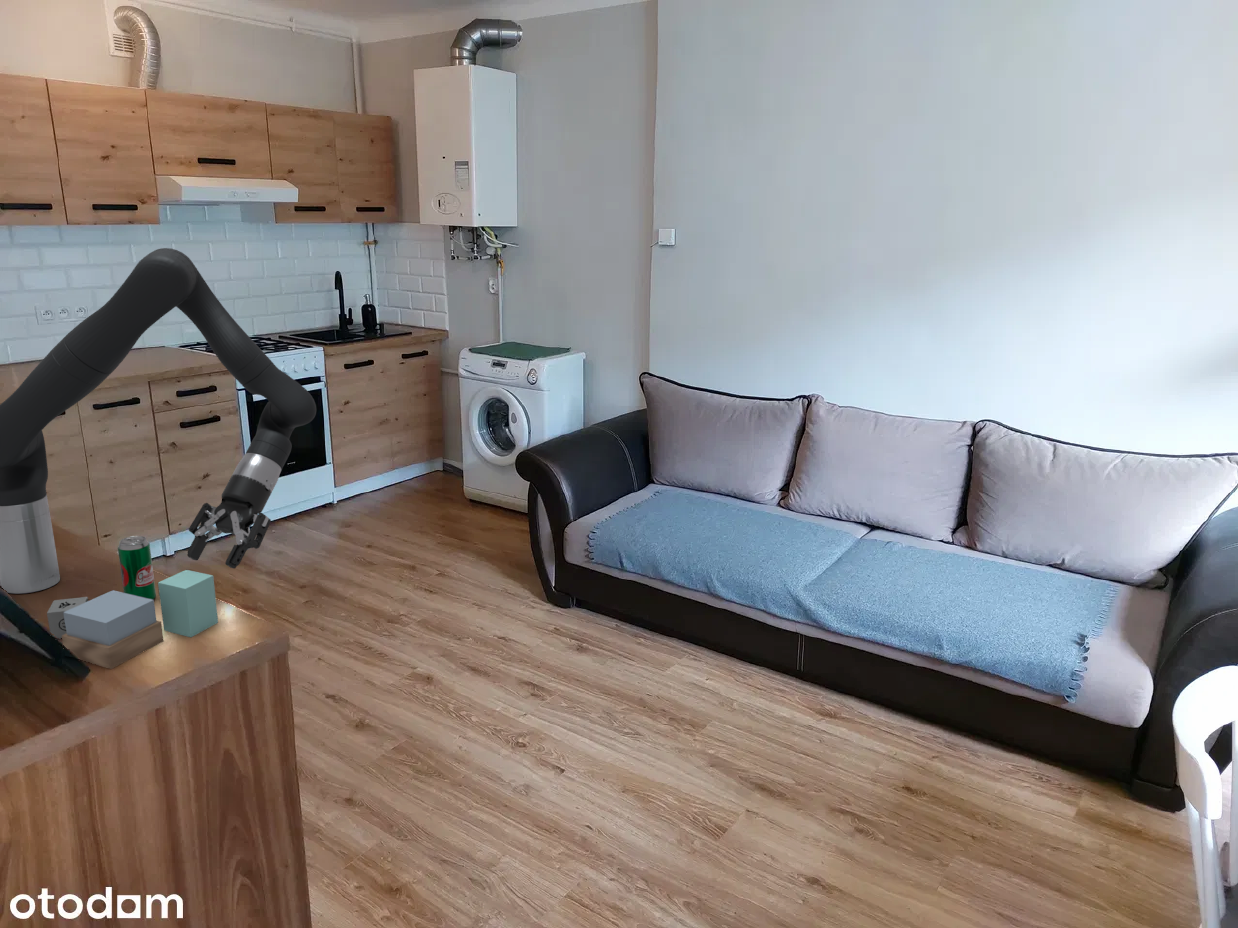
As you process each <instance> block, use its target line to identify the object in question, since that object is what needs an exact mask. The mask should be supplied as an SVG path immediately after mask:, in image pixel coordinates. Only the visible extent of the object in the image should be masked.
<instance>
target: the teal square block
mask: <svg viewBox="0 0 1238 928" xmlns="http://www.w3.org/2000/svg"><path fill="white" fill-rule="evenodd" d="M214 581H215V579H214V575H212V574H208V573H204V572H198V571H194V570H189V569H185V570H183V571H180V572H178V573H176V574H174V575H171V576H170V577H167V578H165V579H163V580H161V581H159V582H157V584H158V585H157V586H158V592H159V593H158V594H159V595H158V596H159V602H160V610H161V618H162V625H163V626H162V628H163V631H164V632H167V631H168V633H169V632H170V633H172V634H177V635H179V636H180V635H181V636H184V637H188V638H193V637H194V636H196V635H198V634H200V633H202V632H204V631H205V630H207V629H209V628H211V627H213V626H215V625H217V624H218V623H219V620H218V619H219V618H218V609H217V600H216V599H217V597H216V588H215V582H214Z"/></svg>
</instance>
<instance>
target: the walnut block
mask: <svg viewBox="0 0 1238 928" xmlns="http://www.w3.org/2000/svg"><path fill="white" fill-rule="evenodd" d="M156 621H157V622H155V623H153V624H151V625H149V626H147V627H145V628H143V629H141V630H140V631H138V632H136V633H134V634H132V635H130V636H128V637H126V638H124V639H122V640H120V641H118V642H116V643H114V644H112V645H110V646H107V645H104V644H100V643H96V642H92V641H88V640H85V639H81V638H77V637H73V636H69V635H67V633H66V634H64V635H62V639H61V641H62V646H63V645H64V646H65V647H66V648H67V649H70V650H71V651H72V652H73V653H74V654H75V655H76V656H77V657H79V658H80V659H81V660H83V661H82V662H84V661H86V662H85V663H88V662H90V663H89V664H91V663H92V665H95V664H96V665H95V666H99V667H103V668H106V669H110V670H112V669H114V668H116V667H117V666H120V665H122V664H123V663H125V662H127V661H129V660H131V659H133V658H135V657H136V656H139V655H141V654H142V653H144V652H146V651H147V649H148V650H149V649H151V648H154V647H156V646H157V645H159V644H161V643H163V642H164V634H163V626H162V625H163V623H162V621H160V620H157V619H156ZM145 650H146V651H145ZM143 651H144V652H143Z"/></svg>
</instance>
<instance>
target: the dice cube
mask: <svg viewBox="0 0 1238 928" xmlns="http://www.w3.org/2000/svg"><path fill="white" fill-rule="evenodd" d="M88 601H89V597H88V596H82V597H74V598H72V597H71V598H63V599H55V600H53V601H52V603H51V605H50V607H49V608H48V610H47V612H46V615H47V617H46V618H47V620H48V621H47V622H48V627H49V633H50V632H51V633H52V634H54V635H55V636H56V637H57V638H59V639H58V640H62V639H61V638H62V635H64V634H66V633H67V632H66V626H65V620H64V614H63V612H65V611H67V610H70V609H72V608H74V607H76V606H79V605H81V604H83V603H85V602H88Z"/></svg>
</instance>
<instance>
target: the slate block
mask: <svg viewBox="0 0 1238 928" xmlns="http://www.w3.org/2000/svg"><path fill="white" fill-rule="evenodd" d="M63 614H64V620H65V626H66V632H67V635H69V636H73V637H77V638H81V639H85V640H88V641H92V642H96V643H100V644H104V645H107V646H110V645H112V644H114V643H116V642H118V641H120V640H122V639H124V638H126V637H128V636H130V635H132V634H134V633H136V632H138V631H140V630H141V629H143V628H145V627H147V626H149V625H151V624H153V623H155V622H157V621H158V620H157V615H156V614H157V613H156V607H155V599H154V600H152V599H148V598H144V597H139V596H135V595H131V594H127V593H124V592H122V591H117V590H114V589H113V590H111V591H108V592H106V593H104V594H101V595H99V596H97V597H94V598H92V599H90V600H88V602H85V603H83V604H81V605H79V606H76V607H74V608H72V609H70V610H67V611H65V612H63ZM156 620H157V621H156Z"/></svg>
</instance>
